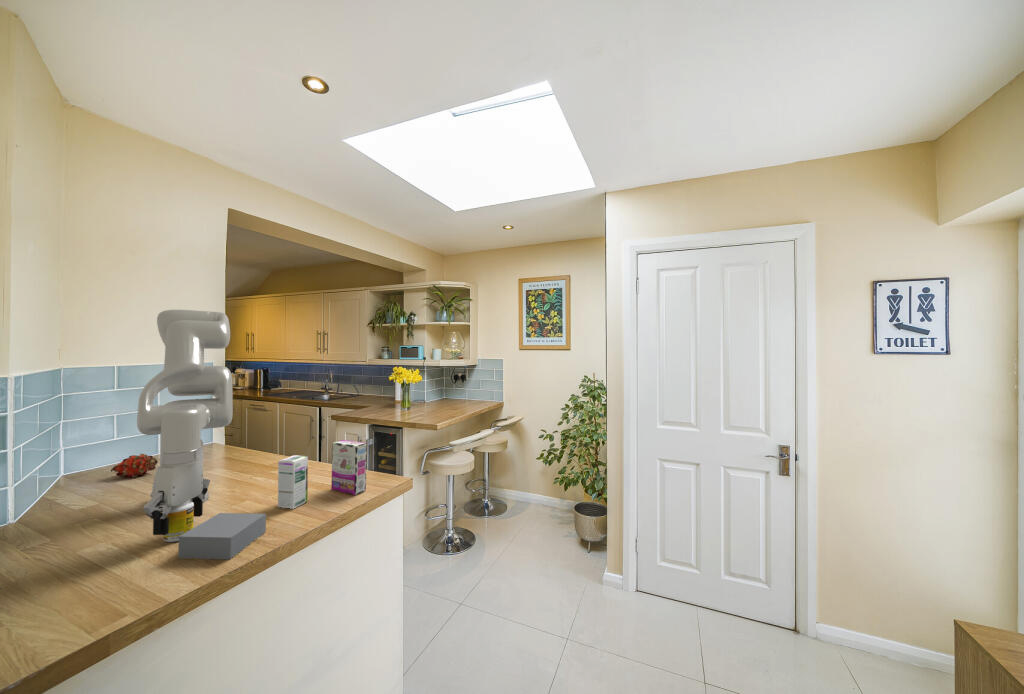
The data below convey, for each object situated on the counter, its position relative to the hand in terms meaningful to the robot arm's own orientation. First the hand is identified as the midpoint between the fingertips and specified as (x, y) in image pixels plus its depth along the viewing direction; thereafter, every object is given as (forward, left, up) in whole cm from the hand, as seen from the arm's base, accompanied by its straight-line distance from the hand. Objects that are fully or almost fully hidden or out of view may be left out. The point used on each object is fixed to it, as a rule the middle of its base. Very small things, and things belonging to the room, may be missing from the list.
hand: (179, 524), depth 93 cm
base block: (+14, -3, -3) cm, 14 cm away
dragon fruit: (-53, +41, -4) cm, 67 cm away
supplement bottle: (0, 0, -4) cm, 4 cm away
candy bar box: (+29, +32, -4) cm, 43 cm away
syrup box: (+17, +20, -4) cm, 27 cm away
